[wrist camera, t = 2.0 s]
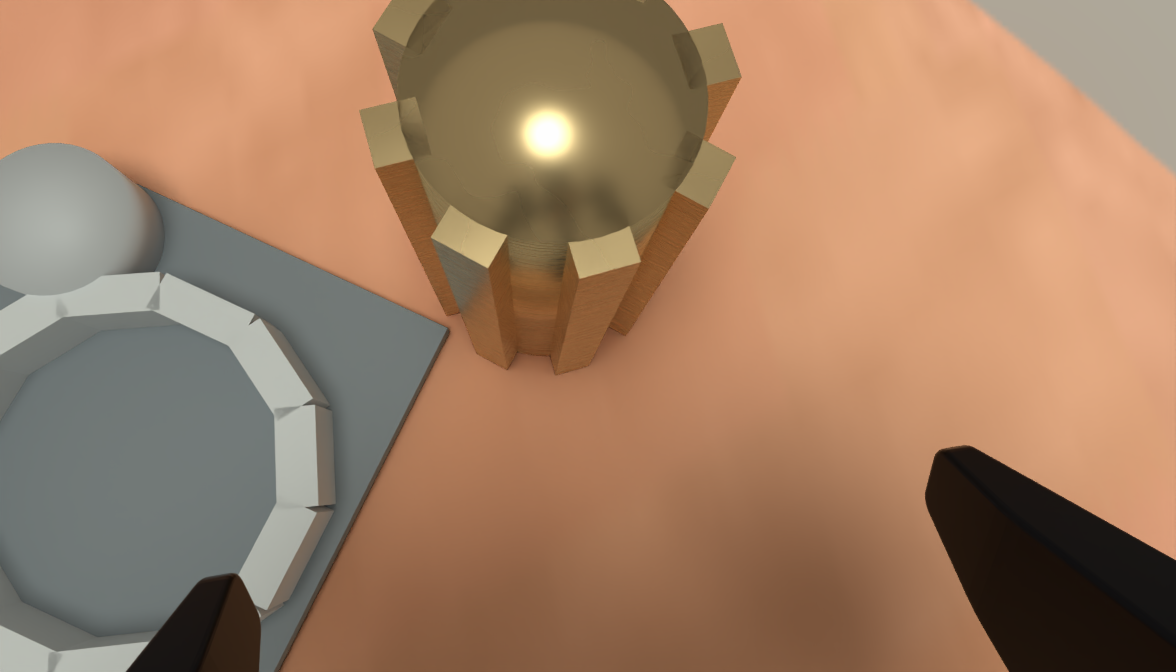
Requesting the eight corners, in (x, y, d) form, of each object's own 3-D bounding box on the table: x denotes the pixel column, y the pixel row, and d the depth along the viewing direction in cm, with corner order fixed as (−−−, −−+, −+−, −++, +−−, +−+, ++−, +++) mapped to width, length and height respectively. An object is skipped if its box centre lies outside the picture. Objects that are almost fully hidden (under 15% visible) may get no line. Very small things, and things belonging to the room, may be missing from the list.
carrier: (449, 332, 23) (439, 313, 20) (242, 742, 21) (202, 778, 18) (76, 158, 23) (20, 118, 21) (-172, 546, 21) (-270, 555, 18)
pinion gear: (679, 234, 24) (802, 32, 13) (584, 412, 23) (635, 347, 12) (503, 140, 24) (482, -136, 13) (399, 311, 23) (285, 158, 12)
